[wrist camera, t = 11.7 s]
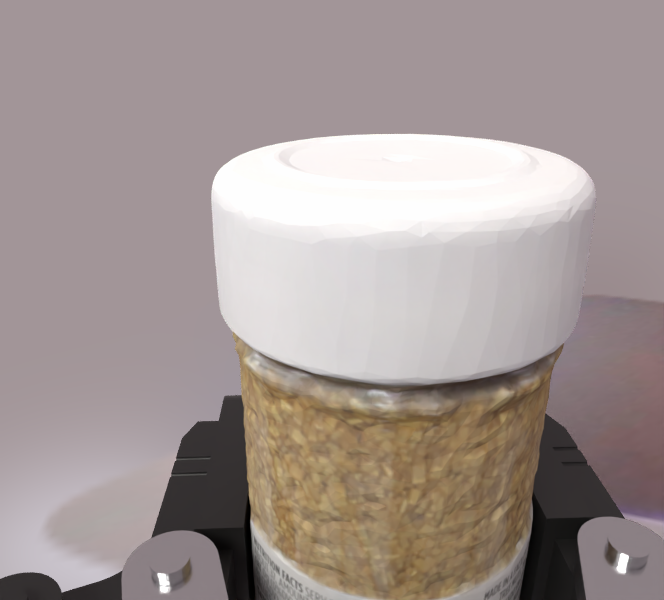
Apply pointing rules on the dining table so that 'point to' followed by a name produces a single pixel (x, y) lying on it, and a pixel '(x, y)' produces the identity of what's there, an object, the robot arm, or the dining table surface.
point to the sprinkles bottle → (397, 355)
